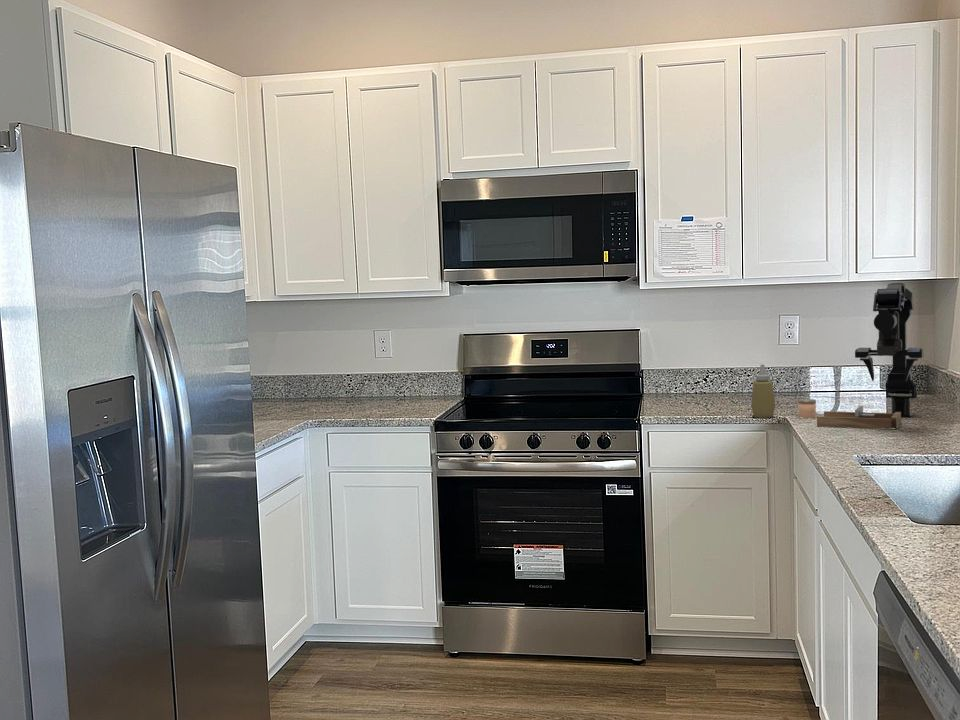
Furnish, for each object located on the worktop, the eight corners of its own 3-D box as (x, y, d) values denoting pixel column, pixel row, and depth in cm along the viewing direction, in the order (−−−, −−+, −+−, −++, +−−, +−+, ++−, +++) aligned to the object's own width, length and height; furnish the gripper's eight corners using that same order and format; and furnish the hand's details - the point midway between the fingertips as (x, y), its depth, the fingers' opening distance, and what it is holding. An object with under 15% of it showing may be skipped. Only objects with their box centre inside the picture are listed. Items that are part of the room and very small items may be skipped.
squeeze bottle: (746, 416, 324) (745, 364, 322) (765, 414, 326) (764, 363, 325) (761, 419, 316) (760, 366, 315) (780, 417, 319) (780, 364, 318)
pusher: (859, 418, 301) (859, 405, 301) (876, 418, 299) (876, 406, 299) (854, 422, 292) (854, 410, 292) (872, 423, 290) (872, 410, 290)
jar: (799, 416, 320) (799, 398, 320) (817, 417, 317) (817, 399, 317) (796, 418, 315) (796, 400, 315) (814, 419, 312) (814, 401, 312)
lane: (824, 420, 308) (824, 409, 308) (901, 422, 297) (901, 411, 297) (817, 426, 296) (816, 415, 296) (896, 429, 285) (896, 417, 285)
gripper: (851, 331, 283) (852, 383, 284) (919, 331, 273) (920, 384, 274) (857, 329, 292) (858, 379, 293) (923, 328, 283) (923, 380, 284)
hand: (889, 381), depth 286 cm, fingers open, 9 cm apart
